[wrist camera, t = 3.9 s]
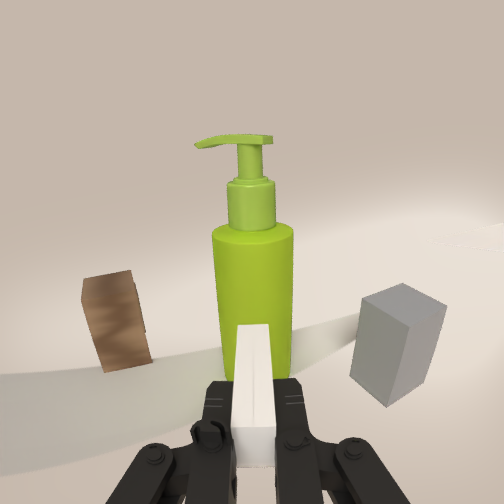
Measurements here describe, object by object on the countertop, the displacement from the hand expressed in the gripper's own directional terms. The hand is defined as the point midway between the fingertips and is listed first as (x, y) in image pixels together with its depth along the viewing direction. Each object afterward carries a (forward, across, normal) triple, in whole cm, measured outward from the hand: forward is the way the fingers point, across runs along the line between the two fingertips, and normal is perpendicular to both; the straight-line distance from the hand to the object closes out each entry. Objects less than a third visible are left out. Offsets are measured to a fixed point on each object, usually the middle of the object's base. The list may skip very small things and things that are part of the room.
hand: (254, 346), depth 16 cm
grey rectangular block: (+7, +12, -10) cm, 16 cm away
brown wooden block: (+11, -14, -9) cm, 20 cm away
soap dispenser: (+9, 0, -10) cm, 14 cm away
